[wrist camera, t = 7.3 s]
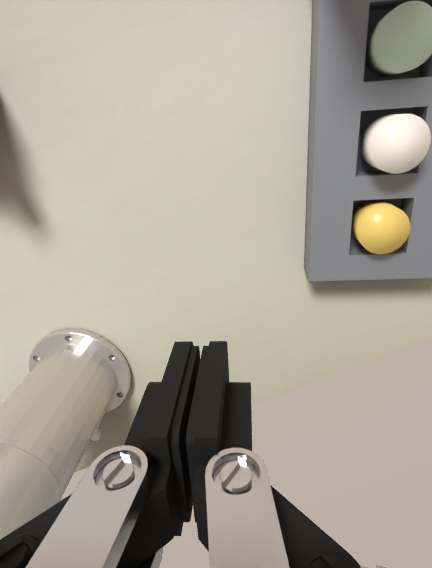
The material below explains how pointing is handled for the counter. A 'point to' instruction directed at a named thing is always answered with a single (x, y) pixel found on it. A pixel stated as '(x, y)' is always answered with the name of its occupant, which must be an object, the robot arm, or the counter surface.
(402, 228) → the mustard button
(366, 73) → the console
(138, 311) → the counter surface
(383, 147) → the ivory button
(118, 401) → the robot arm
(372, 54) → the sage button
